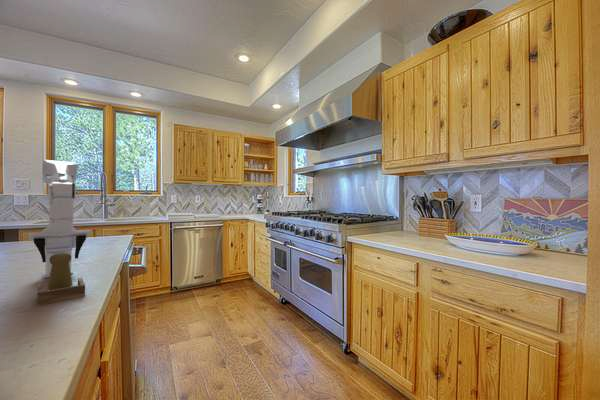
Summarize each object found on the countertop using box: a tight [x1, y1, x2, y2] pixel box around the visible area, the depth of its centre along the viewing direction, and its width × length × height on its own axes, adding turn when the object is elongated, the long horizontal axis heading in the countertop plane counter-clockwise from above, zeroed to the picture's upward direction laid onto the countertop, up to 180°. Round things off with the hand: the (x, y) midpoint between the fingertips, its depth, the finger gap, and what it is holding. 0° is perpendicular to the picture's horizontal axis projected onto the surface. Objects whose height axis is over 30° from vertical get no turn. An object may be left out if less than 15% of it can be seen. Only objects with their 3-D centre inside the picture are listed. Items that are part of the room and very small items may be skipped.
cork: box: [46, 253, 74, 291], centre depth 82 cm, size 6×6×11 cm
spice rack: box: [36, 277, 86, 306], centre depth 75 cm, size 10×10×3 cm
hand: (60, 259), depth 82 cm, fingers open, 7 cm apart
